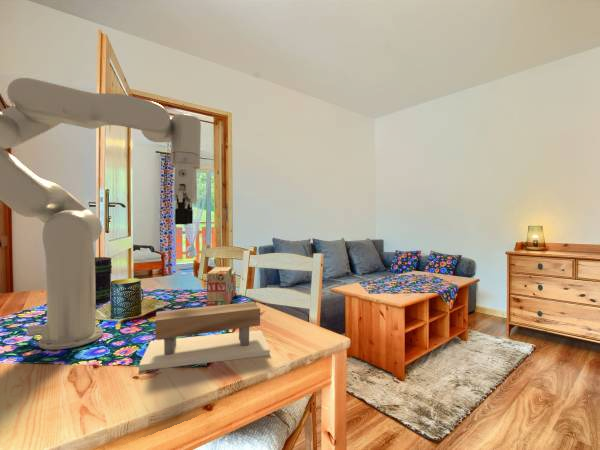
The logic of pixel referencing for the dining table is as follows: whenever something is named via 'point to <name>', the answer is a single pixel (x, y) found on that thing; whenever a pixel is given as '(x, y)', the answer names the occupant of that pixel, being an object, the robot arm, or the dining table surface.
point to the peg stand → (204, 349)
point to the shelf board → (206, 319)
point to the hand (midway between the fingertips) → (184, 223)
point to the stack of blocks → (220, 286)
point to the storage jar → (102, 279)
